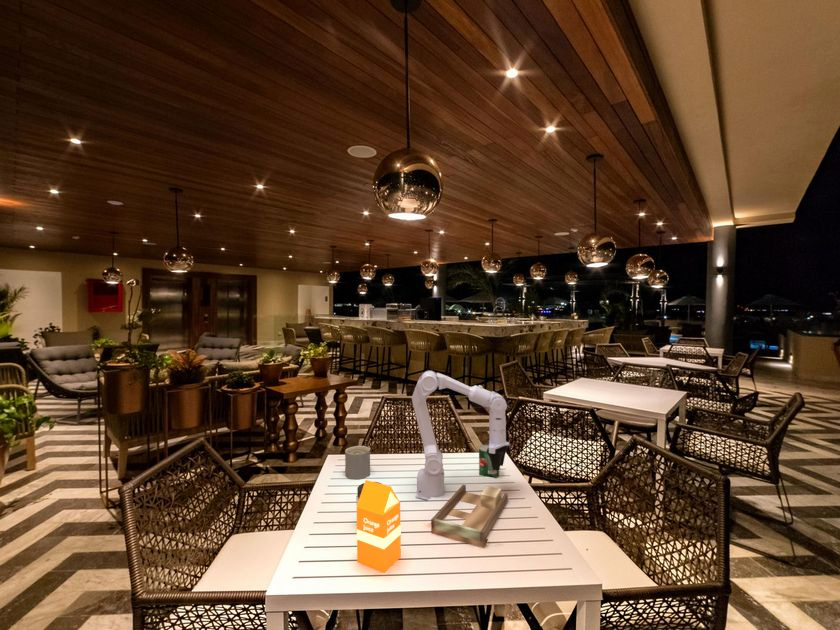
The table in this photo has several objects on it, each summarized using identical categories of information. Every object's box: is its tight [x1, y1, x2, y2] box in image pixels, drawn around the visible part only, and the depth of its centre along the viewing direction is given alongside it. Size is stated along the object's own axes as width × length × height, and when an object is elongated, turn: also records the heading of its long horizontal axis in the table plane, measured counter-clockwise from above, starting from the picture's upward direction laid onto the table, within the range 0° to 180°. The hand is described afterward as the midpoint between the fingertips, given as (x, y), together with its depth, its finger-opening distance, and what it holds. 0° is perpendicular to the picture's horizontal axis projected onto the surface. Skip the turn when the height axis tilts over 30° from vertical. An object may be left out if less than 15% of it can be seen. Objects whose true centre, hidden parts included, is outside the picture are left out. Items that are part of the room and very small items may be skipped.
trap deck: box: [430, 484, 509, 549], centre depth 118 cm, size 16×26×4 cm, turn 152°
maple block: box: [480, 485, 502, 510], centre depth 125 cm, size 5×7×4 cm
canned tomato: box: [478, 444, 500, 479], centre depth 151 cm, size 8×8×11 cm
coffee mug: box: [344, 445, 371, 481], centre depth 155 cm, size 13×10×10 cm
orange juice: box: [356, 479, 402, 574], centre depth 99 cm, size 8×9×20 cm
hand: (498, 467), depth 132 cm, fingers open, 4 cm apart
